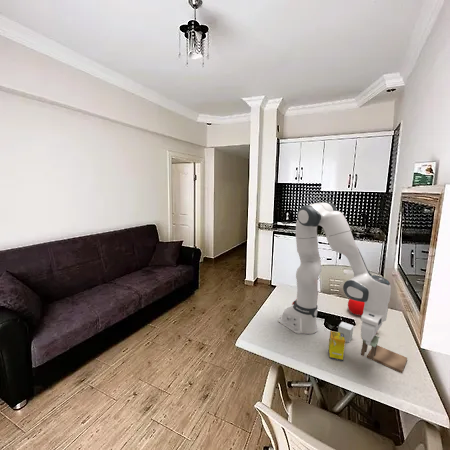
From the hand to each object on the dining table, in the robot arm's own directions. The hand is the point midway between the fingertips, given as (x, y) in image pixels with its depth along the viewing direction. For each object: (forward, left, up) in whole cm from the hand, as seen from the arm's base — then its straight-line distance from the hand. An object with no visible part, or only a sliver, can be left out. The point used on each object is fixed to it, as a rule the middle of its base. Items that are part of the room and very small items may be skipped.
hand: (370, 341), depth 112 cm
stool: (0, 0, -7) cm, 7 cm away
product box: (-15, +14, -13) cm, 24 cm away
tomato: (-19, +47, -13) cm, 52 cm away
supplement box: (-13, -4, -13) cm, 18 cm away
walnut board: (+5, +12, -12) cm, 18 cm away
